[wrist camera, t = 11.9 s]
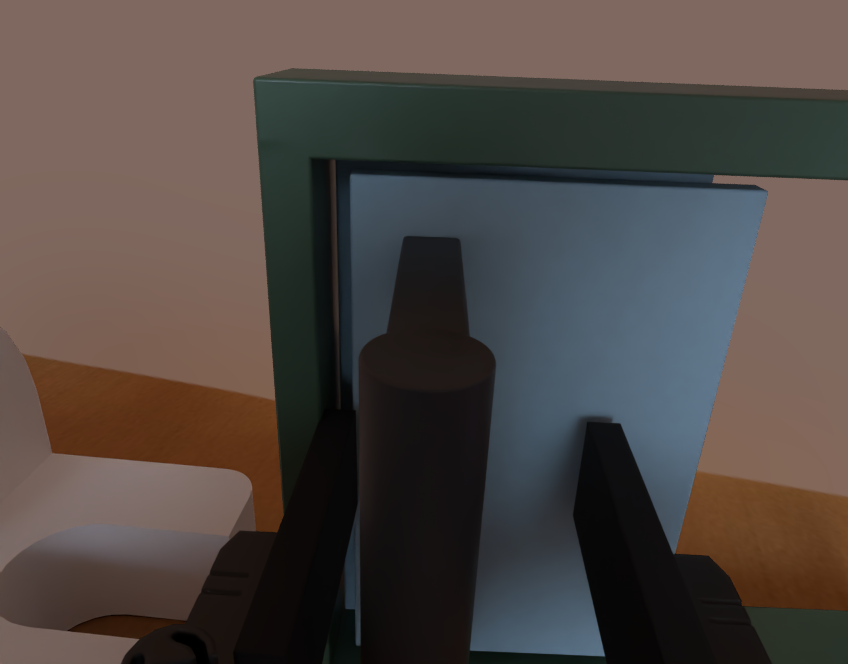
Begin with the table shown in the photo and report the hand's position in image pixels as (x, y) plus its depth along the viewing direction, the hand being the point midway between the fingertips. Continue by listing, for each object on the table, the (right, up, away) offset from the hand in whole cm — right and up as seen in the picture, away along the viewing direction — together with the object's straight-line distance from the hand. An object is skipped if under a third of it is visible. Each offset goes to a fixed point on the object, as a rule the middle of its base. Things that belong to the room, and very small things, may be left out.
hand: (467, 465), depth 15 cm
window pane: (+1, -7, +1) cm, 7 cm away
